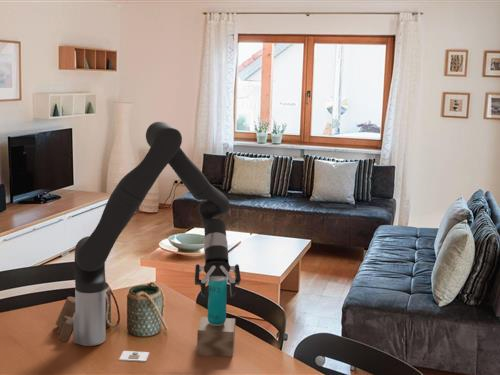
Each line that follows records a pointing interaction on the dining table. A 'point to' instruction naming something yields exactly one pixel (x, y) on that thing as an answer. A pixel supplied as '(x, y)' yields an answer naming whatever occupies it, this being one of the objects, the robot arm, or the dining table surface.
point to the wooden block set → (66, 319)
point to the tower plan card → (134, 356)
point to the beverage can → (217, 300)
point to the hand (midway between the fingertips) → (218, 296)
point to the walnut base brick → (216, 338)
